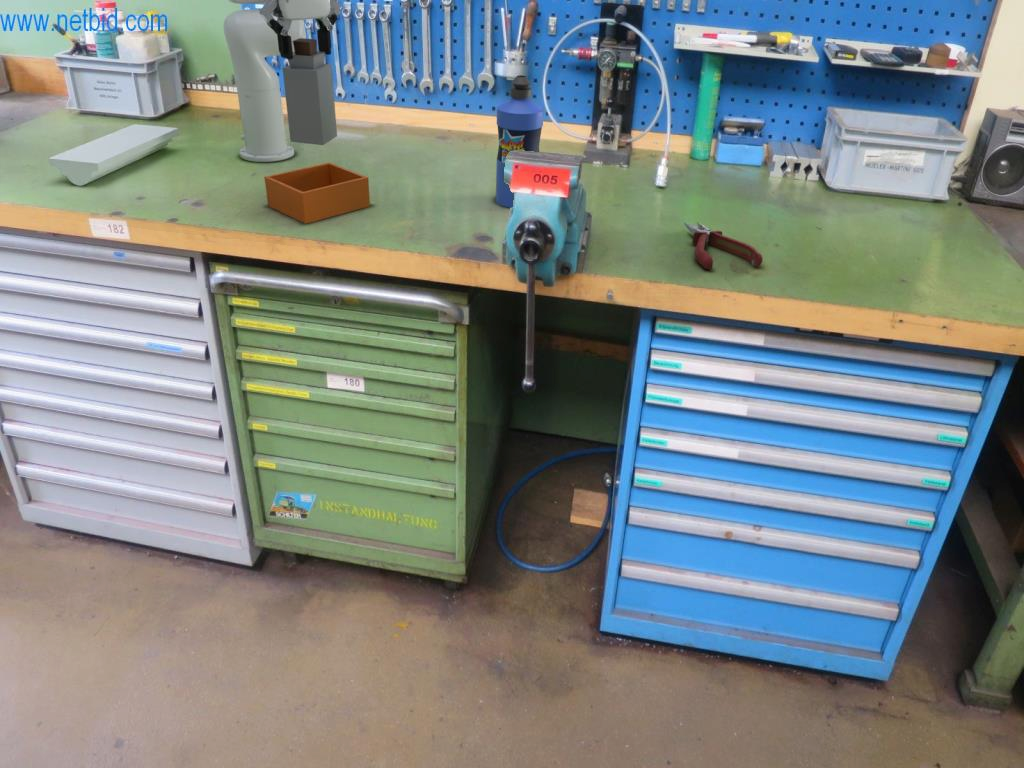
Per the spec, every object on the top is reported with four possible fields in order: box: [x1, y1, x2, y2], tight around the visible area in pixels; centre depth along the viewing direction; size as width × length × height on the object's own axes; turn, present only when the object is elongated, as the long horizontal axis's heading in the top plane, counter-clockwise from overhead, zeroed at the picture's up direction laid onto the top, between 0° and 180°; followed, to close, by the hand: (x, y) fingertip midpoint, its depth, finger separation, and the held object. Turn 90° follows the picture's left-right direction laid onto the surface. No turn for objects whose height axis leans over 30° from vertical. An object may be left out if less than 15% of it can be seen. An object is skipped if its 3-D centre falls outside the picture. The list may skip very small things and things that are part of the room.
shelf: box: [48, 123, 180, 187], centre depth 177 cm, size 12×30×5 cm, turn 169°
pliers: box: [683, 221, 764, 270], centre depth 147 cm, size 12×20×3 cm, turn 12°
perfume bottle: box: [282, 38, 338, 146], centre depth 150 cm, size 7×7×18 cm
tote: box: [263, 161, 371, 225], centre depth 159 cm, size 13×15×6 cm
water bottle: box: [495, 74, 545, 209], centre depth 160 cm, size 9×9×25 cm
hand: (306, 55), depth 147 cm, fingers closed on perfume bottle, 7 cm apart
